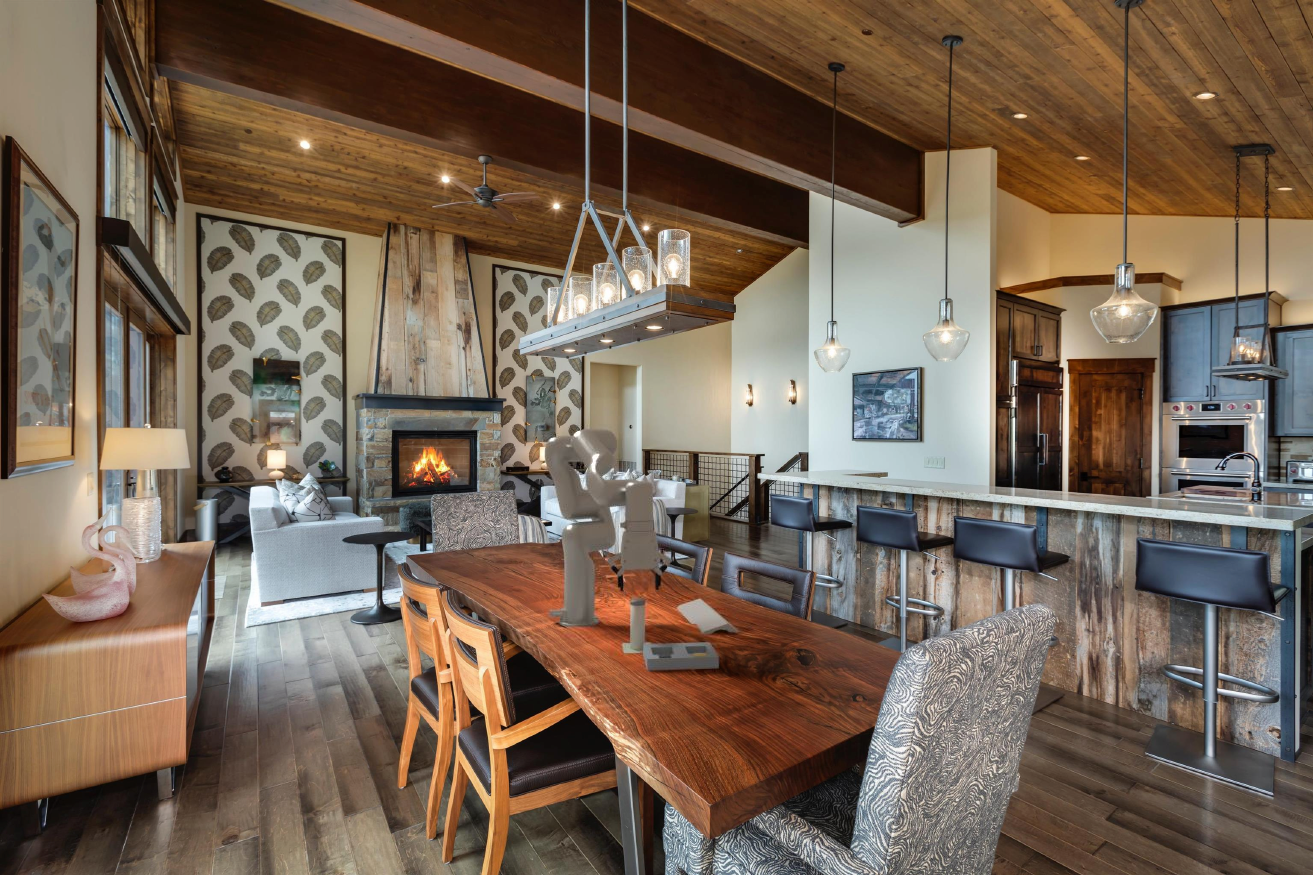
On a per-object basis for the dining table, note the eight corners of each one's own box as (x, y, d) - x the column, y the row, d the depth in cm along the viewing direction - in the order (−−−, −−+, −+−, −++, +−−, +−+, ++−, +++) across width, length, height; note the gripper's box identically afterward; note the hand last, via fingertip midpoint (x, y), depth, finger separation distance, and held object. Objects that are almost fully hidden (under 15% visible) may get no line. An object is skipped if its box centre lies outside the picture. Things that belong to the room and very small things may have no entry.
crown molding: (676, 609, 214) (676, 599, 214) (710, 608, 217) (710, 597, 217) (702, 636, 186) (702, 624, 186) (740, 634, 189) (741, 622, 189)
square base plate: (623, 657, 166) (623, 653, 166) (621, 647, 174) (621, 643, 174) (653, 656, 167) (653, 652, 167) (650, 646, 175) (650, 642, 175)
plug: (630, 650, 168) (630, 602, 168) (629, 645, 173) (629, 598, 173) (645, 649, 169) (646, 601, 169) (644, 644, 173) (644, 597, 173)
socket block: (647, 674, 154) (647, 657, 154) (642, 659, 165) (643, 642, 165) (718, 672, 156) (718, 655, 156) (709, 657, 167) (709, 641, 167)
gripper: (608, 529, 166) (608, 593, 165) (672, 527, 168) (672, 591, 167) (606, 525, 173) (607, 587, 173) (668, 524, 175) (668, 585, 175)
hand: (639, 589), depth 170 cm, fingers open, 9 cm apart
